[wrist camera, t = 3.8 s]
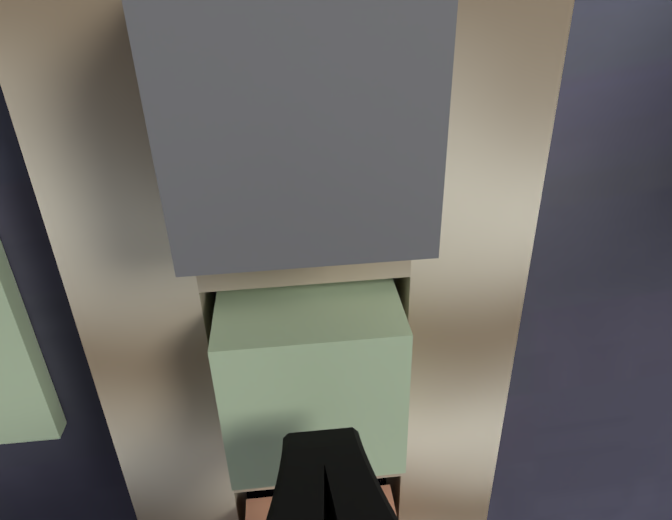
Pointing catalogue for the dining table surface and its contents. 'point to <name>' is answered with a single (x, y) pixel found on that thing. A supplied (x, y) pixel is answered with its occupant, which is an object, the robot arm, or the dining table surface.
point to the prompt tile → (23, 372)
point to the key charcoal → (296, 128)
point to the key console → (199, 291)
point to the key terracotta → (260, 506)
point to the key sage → (310, 372)
